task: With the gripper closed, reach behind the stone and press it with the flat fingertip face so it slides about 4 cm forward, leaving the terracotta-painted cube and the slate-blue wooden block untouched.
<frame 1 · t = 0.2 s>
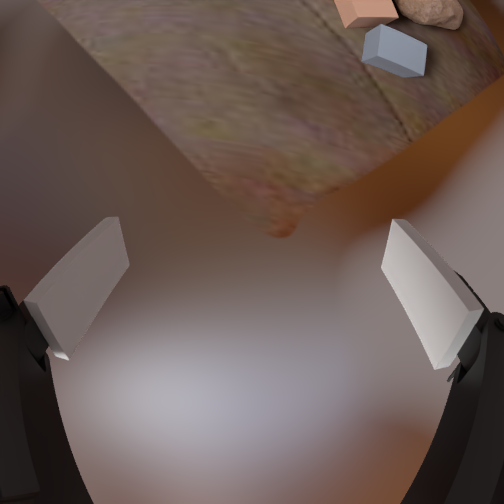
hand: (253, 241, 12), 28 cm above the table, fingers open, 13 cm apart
terracotta block: (357, 10, 25), on the table
slate block: (385, 55, 28), on the table
stone: (417, 3, 22), on the table
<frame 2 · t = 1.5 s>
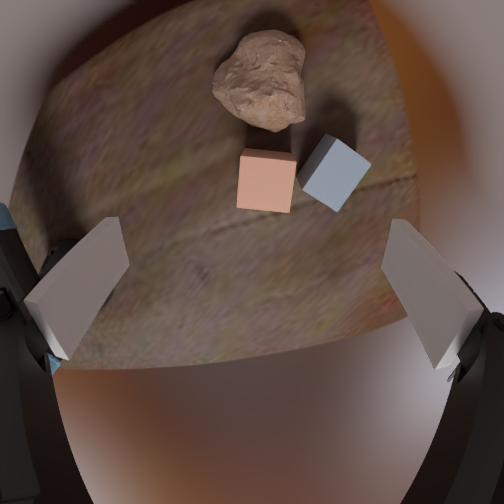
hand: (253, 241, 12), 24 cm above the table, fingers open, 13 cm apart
terracotta block: (265, 172, 35), on the table
slate block: (326, 165, 34), on the table
stone: (259, 81, 29), on the table
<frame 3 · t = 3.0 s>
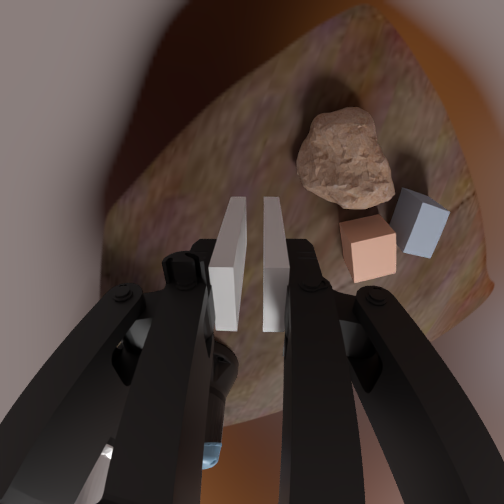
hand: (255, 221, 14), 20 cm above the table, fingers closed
terracotta block: (361, 237, 37), on the table
slate block: (407, 213, 35), on the table
stone: (335, 157, 32), on the table
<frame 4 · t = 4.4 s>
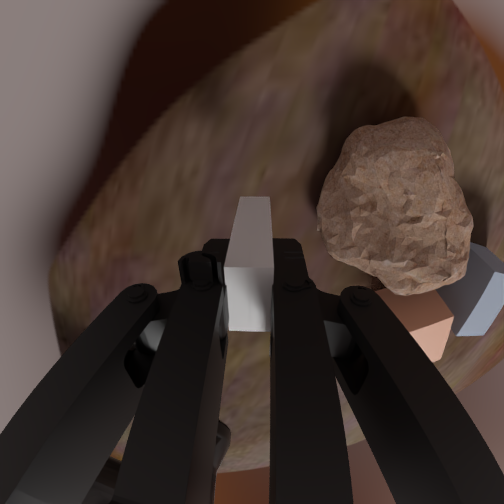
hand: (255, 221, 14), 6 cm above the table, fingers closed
terracotta block: (397, 306, 25), on the table
slate block: (459, 271, 23), on the table
stone: (376, 196, 20), on the table
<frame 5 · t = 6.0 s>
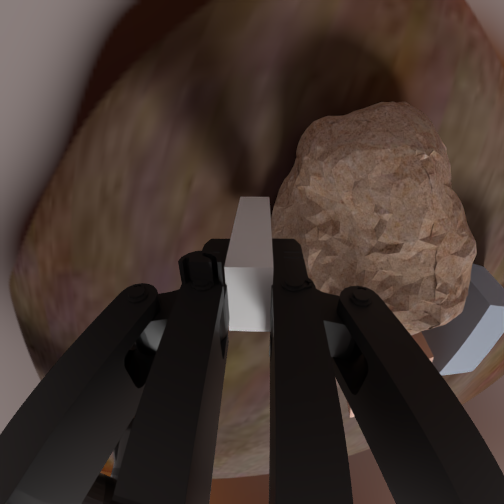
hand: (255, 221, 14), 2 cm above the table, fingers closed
slate block: (449, 295, 19), on the table
stone: (351, 207, 16), on the table, touching gripper
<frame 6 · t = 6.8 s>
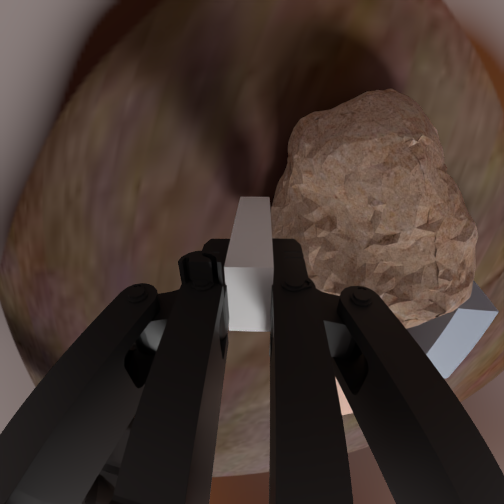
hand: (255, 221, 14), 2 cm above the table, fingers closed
slate block: (421, 296, 19), on the table
stone: (351, 201, 16), on the table, touching gripper
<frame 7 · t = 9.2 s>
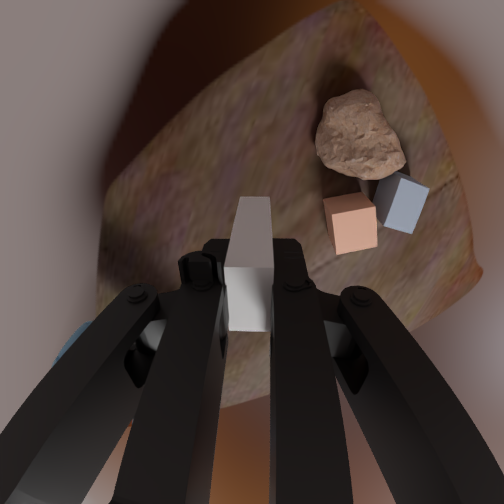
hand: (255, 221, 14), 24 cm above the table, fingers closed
terracotta block: (344, 213, 40), on the table
slate block: (390, 192, 37), on the table
stone: (348, 136, 34), on the table
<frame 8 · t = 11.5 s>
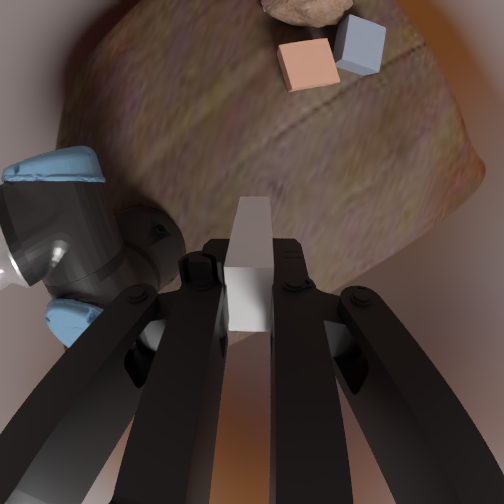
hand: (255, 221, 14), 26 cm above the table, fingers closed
terracotta block: (303, 69, 31), on the table
slate block: (350, 50, 29), on the table
stone: (296, 0, 26), on the table
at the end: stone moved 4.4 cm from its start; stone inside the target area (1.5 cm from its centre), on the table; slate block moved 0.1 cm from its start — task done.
